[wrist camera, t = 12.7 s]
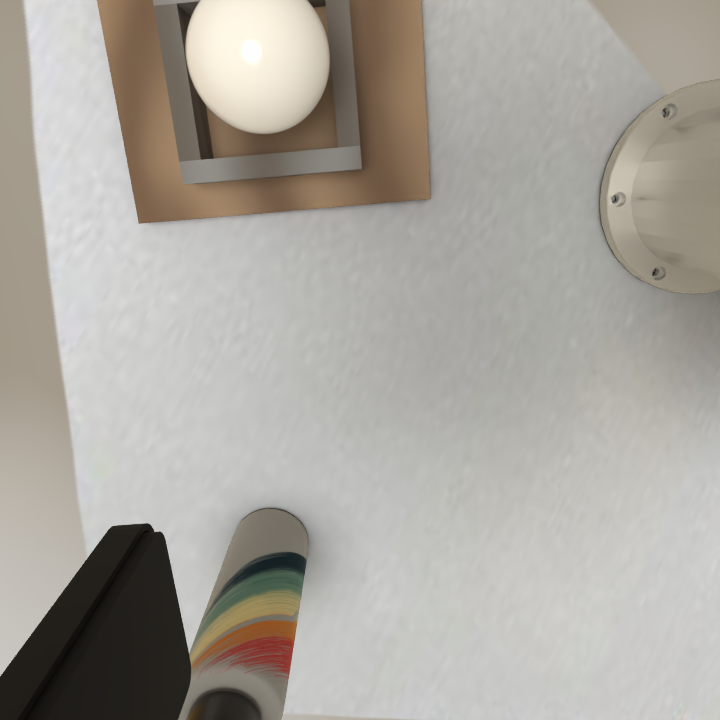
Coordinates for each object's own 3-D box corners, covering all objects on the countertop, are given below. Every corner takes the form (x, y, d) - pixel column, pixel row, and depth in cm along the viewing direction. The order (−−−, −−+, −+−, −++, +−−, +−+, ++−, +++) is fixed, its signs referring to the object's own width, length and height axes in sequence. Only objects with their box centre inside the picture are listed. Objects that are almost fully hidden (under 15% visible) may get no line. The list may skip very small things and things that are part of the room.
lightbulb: (204, 83, 34) (132, 38, 23) (281, -3, 32) (242, -92, 22) (282, 167, 35) (248, 161, 24) (359, 88, 34) (358, 45, 23)
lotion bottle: (292, 581, 45) (240, 872, 26) (223, 555, 45) (118, 834, 26) (320, 523, 44) (287, 787, 25) (250, 495, 43) (159, 744, 24)
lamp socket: (415, -59, 33) (423, -96, 28) (427, 198, 37) (436, 200, 33) (101, -28, 33) (62, -60, 29) (147, 221, 37) (119, 227, 33)
